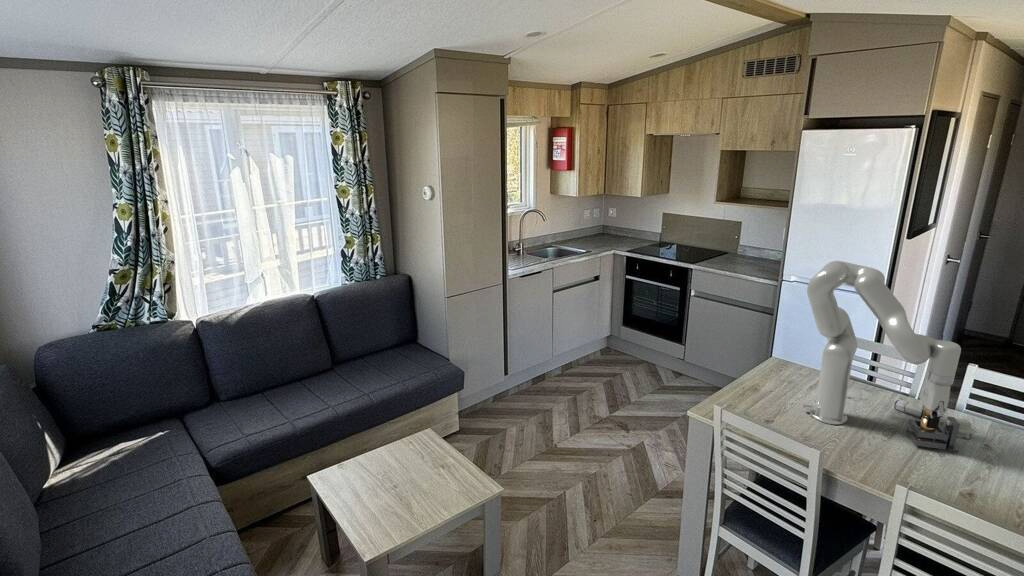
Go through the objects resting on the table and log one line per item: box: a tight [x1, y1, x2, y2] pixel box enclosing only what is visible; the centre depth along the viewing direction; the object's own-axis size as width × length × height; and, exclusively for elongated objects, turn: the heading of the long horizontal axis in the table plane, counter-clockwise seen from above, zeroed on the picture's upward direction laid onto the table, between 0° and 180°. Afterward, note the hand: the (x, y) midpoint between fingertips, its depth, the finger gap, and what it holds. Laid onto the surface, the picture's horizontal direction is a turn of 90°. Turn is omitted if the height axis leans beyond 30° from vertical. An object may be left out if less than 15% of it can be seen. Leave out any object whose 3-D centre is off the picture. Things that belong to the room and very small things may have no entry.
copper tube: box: [918, 407, 938, 441], centre depth 187 cm, size 4×4×14 cm
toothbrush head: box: [893, 399, 975, 440], centre depth 201 cm, size 5×7×25 cm
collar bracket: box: [905, 416, 960, 454], centre depth 188 cm, size 9×13×10 cm
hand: (928, 423), depth 188 cm, fingers closed on copper tube, 4 cm apart
